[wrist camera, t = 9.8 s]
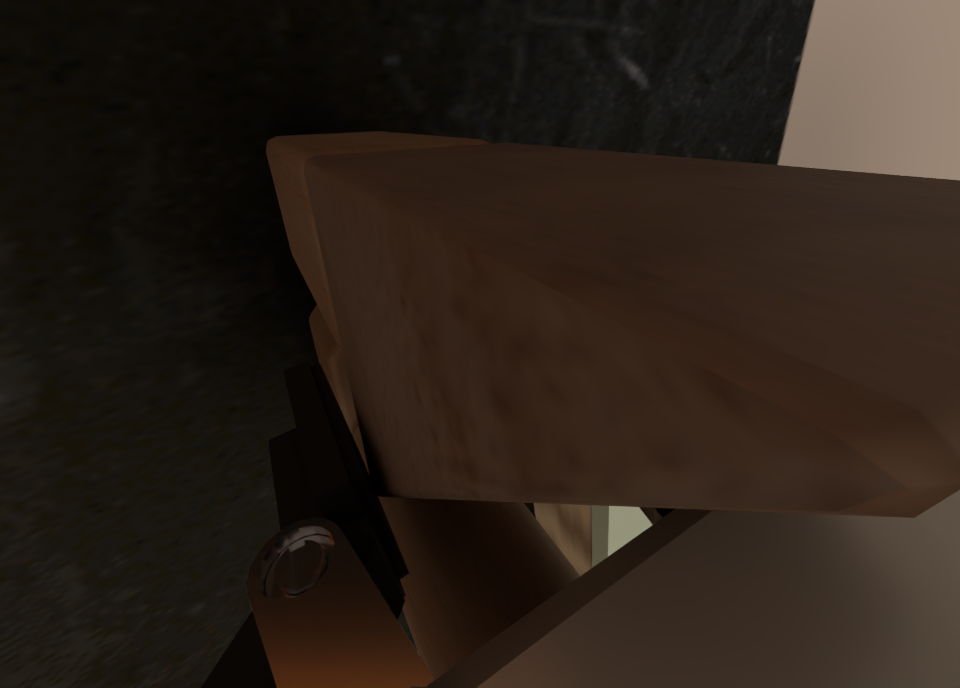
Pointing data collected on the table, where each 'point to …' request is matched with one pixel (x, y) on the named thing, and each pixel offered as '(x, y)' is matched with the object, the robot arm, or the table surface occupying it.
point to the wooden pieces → (616, 346)
